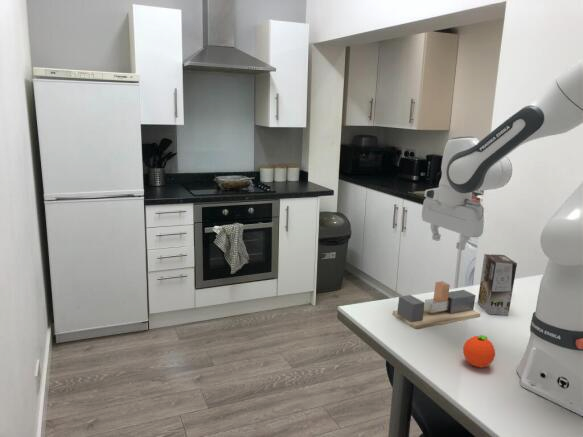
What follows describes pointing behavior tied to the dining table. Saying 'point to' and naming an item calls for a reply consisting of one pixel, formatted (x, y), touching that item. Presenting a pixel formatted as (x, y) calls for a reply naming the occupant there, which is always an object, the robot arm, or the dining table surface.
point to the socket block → (410, 308)
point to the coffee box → (496, 284)
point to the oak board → (439, 318)
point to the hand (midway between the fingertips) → (447, 244)
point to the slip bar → (439, 298)
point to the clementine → (479, 351)
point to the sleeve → (461, 301)
